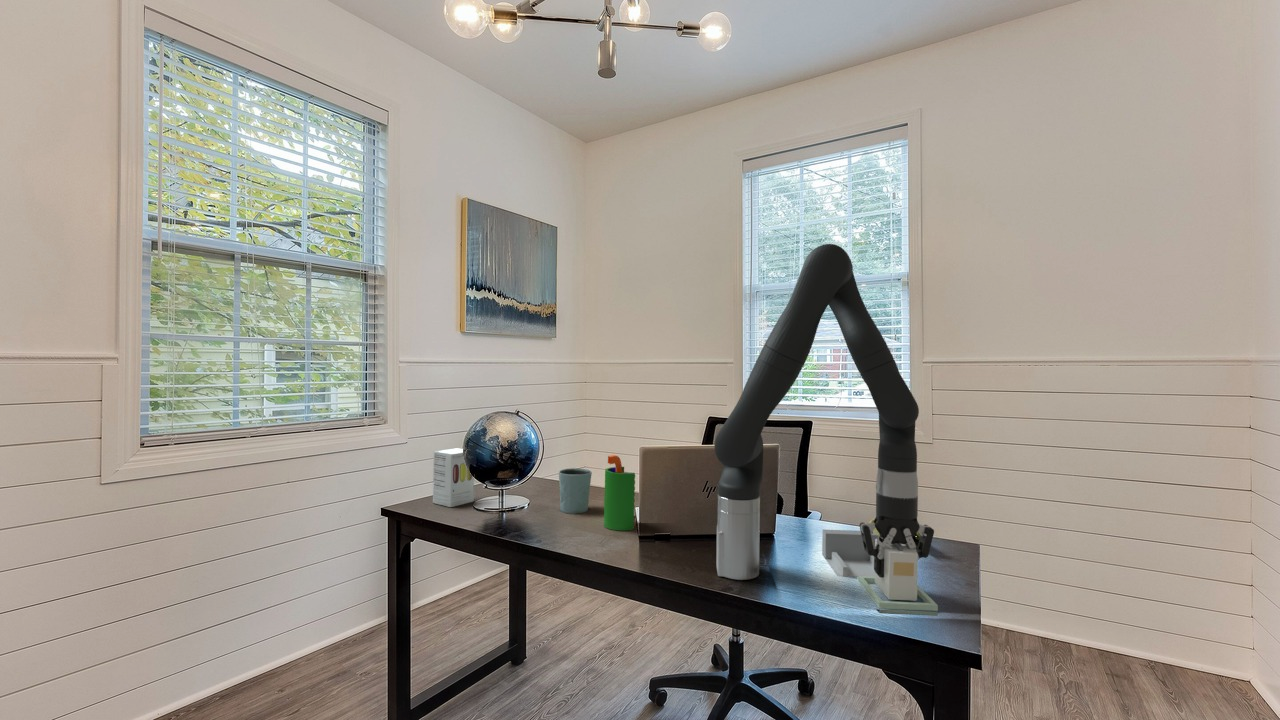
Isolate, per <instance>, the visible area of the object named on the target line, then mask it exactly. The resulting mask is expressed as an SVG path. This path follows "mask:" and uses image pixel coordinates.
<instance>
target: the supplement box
mask: <svg viewBox="0 0 1280 720" xmlns="http://www.w3.org/2000/svg"><path fill="white" fill-rule="evenodd" d="M463 449H464V448H460V447H455V448H449V449H448V448H447V449H443V450H435V451H433V465H432V466H433V468H432V469H433V470H432V472H433V475H432V476H433V479H432V481H433V482H432V484H433V485H432V503H433V504H436V505H440V506H445V507H448V508H452V507H453V508H454V507H457V506H461V505H465V504H469V503H474V500H475V498H474V495H475V494H474V493H475V492H474V491H475V477H474V478H473V476H472V475H471V474H470V472H469V470H468V468H467V466H466V463H465V460H464V456H463Z"/></svg>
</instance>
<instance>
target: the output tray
mask: <svg viewBox="0 0 1280 720" xmlns="http://www.w3.org/2000/svg"><path fill="white" fill-rule="evenodd" d="M857 582H859V584H860V586H861V587H862V589H864V590H865V592H866V593H867V594H868V596H869V597H870V598H871V599H872V601H873V603H875V605H876V606H877V609H876V612H878V613H879V614H886V615H887V614H888V615H910V616H932V617H934V616H936V617H938V616H939V614H938V613H939V612H938V611H939V605H938V603H937V602H935V601H934V600H933V599H932V598H931V597H930V596H929V595H928V594H927V593H926V592H925V591H924V590H923V589H922V588H921V587H920V586H919V585H918V584H917V597H919V598H920V599H921V600H922V601H923V602H917V601H915V602H914V601H913V602H912V601H910V602H909V601H894V600H892V601H889V600H882V599H881V598H880V596H879V595H878V593H876V592H875V590H874V589H873V588H872V586H870V584H876V583H875V577H866V576H858V577H857ZM878 608H879V609H878Z"/></svg>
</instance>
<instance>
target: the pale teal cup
mask: <svg viewBox="0 0 1280 720" xmlns="http://www.w3.org/2000/svg"><path fill="white" fill-rule="evenodd" d="M592 473H593V472H592V470H590V469H587V468H576V467H575V468H572V467H571V468H564V469H560V470H559V471H558V480H559V482H558V483H559V484H558V485H559V497H560V499H559V505H560V506H559V509H560V512H562V513H565V514H570V515H571V514H574V515H575V514H583V513H586V512H588V511H589V510H588V509H589V501H590V500H589V498H590V489H591V488H590V487H591V481H592Z"/></svg>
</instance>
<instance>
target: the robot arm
mask: <svg viewBox="0 0 1280 720" xmlns="http://www.w3.org/2000/svg"><path fill="white" fill-rule="evenodd" d="M828 307H829V309H830V310H831V312H832V313H833V316H834V317H835V319H836V321H837V323H838V326H839V329H840V331H841V333H842V337H843V340H844V342H845V344H846V346H847V350H848V351H849V354H850V356H851V359H852V361H853V362H854V365H855V367H856V369H857V371H858V373H859V374H860V377H861V379H862V380H863V382H864V383H865V384H866V386H867V388H868V390H869V394H870V395H871V398H872V400H873V402H874V404H875V407H876V411H878V429H879V430H878V431H879V432H878V433H879V442H878V443H879V444H878V450H877V453H878V454H877V474H876V482H875V483H876V484H875V494H876V495H875V517H874V518H875V520H874V522H873V523H869V522H868V523H865V522H860V523H859V525H858V526H859V529H860V530H859V531H861V536H862V540H863V545H864V550H865V551H866V552H867V553H868V554H869V555H870V556H874V571H875V572H876V573H877V575H878V576H879V577H881V578H884V559H883V557H884V551H885V548H886V549H889V547H890V544H896V543H900V544H904V545H905V546H906V547H908V548H909V549H910V550H911V549H913V550H914V551H915V552H916V553H917V554H918V560H919V559H922V558H924V559H926V558H927V559H928V557H929V555H930V554H929V553H930V551H931V548H932V546H931V545H932V542H933V537H934V534H935V530H934V529H933V528H932V527H931V526H929V525H928V524H920V523H919V522H918V511H919V510H918V507H919V506H918V505H919V503H918V502H919V481H918V480H919V479H918V470H917V469H918V449H917V444H916V439H915V438H916V421H917V419H918V417H919V412H920V410H919V405H918V403H917V400H916V398H915V397H914V395H913V394H912V392H911V390H910V388H909V386H908V385H907V383H906V381H905V379H904V378H903V376H902V375H901V372H900V371H899V367H898V364H897V362H896V361H895V358H894V356H893V354H892V352H891V350H890V348H889V345H888V344H887V342H886V340H885V339H884V337H883V335H882V333H881V331H880V330H879V328H878V327H877V325H876V322H875V321H874V319H873V318H872V317H871V315H870V313H869V311H868V309H867V307H866V305H865V303H864V301H863V298H862V296H861V294H860V291H859V288H858V285H857V280H856V279H855V275H854V267H853V262H852V260H851V257H850V256H849V254H848V253H847V251H846V250H845V249H843V247H841V246H839V245H837V244H834V243H824V244H821V245H819V246H817V247H815V248H814V249H813V250H811V251H810V252H809V254H807V256H806V258H805V259H804V263H803V264H802V267H801V271H800V273H799V276H798V278H797V281H796V283H795V286H794V289H793V291H792V294H791V296H790V299H789V300H788V302H787V305H786V307H785V308H784V310H783V311H782V312H781V315H780V316H779V318H778V319H777V321H776V323H775V325H774V326H773V328H772V330H771V332H770V334H769V335H768V337H767V339H766V341H765V342H764V344H763V347H762V349H761V351H760V352H759V355H758V356H757V357H756V358H757V359H756V360H755V363H754V365H753V368H752V370H751V372H750V374H749V376H748V378H747V380H746V382H745V385H744V387H743V389H742V393H741V395H740V397H739V399H738V400H737V403H736V405H735V406H734V408H733V409H732V411H731V412H730V415H729V416H728V417H727V419H726V420H725V422H724V423H723V425H722V427H721V428H720V430H719V431H718V433H717V435H716V437H715V440H714V447H713V448H714V453H715V456H716V458H717V459H718V461H719V462H720V464H722V471H721V474H720V475H721V476H720V477H719V481H718V484H717V524H716V564H715V565H716V572H717V577H724V578H728V579H731V580H738V581H743V580H744V581H745V580H752V579H755V578H757V577H759V575H760V517H761V516H760V514H761V511H760V509H761V508H760V507H761V504H760V503H761V487H762V482H763V475H764V473H763V472H764V470H763V469H764V439H763V436H762V433H763V429H765V426H766V423H767V421H768V419H769V418H770V416H771V414H772V413H773V412H774V410H775V409H776V407H778V405H779V404H780V403H781V402H782V400H783V399H784V398H785V396H786V395H787V394H788V393H789V391H790V389H791V388H792V387H793V386H794V384H795V382H796V380H797V379H798V378H799V377H798V376H799V375H800V373H801V371H802V369H803V368H804V365H805V363H806V361H807V359H808V357H809V354H810V352H811V350H812V346H813V344H814V340H815V338H816V335H817V331H818V327H819V326H820V325H819V324H820V322H821V319H822V317H823V316H824V313H825V311H826V309H827V308H828ZM875 528H876V530H877V531H878V532H879V536H878V539H877V544H876V546H875V548H873V543H872V538H871V535H872V534H873V530H874V529H875ZM918 530H919V534H920V540H918V545H916V546H915V544H916V543H915V544H914V542H915V541H913V540H914V537H913V536H914V535H915V534H916V533H917V531H918Z"/></svg>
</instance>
